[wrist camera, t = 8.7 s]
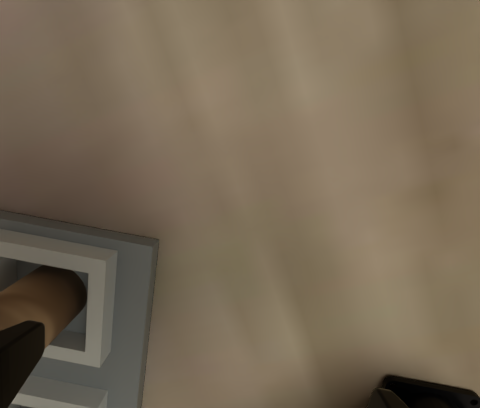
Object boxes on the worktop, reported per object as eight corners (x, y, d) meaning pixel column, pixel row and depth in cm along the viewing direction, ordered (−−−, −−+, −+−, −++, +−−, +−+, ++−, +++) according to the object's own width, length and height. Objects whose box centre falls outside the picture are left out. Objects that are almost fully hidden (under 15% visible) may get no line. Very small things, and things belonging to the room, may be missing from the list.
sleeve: (89, 268, 20) (2, 343, 14) (87, 324, 21) (5, 419, 15) (26, 256, 20) (-92, 324, 14) (27, 313, 21) (-82, 401, 15)
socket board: (159, 239, 21) (144, 256, 18) (135, 464, 26) (121, 502, 23) (-18, 207, 21) (-57, 219, 18) (-6, 435, 26) (-36, 469, 24)
